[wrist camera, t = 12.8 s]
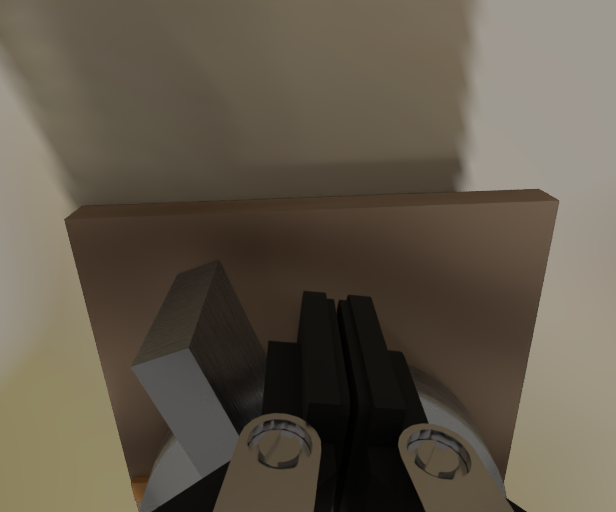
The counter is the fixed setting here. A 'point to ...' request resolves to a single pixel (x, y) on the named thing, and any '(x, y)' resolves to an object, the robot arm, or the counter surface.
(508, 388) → the board
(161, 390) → the grey handled box
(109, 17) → the counter surface
